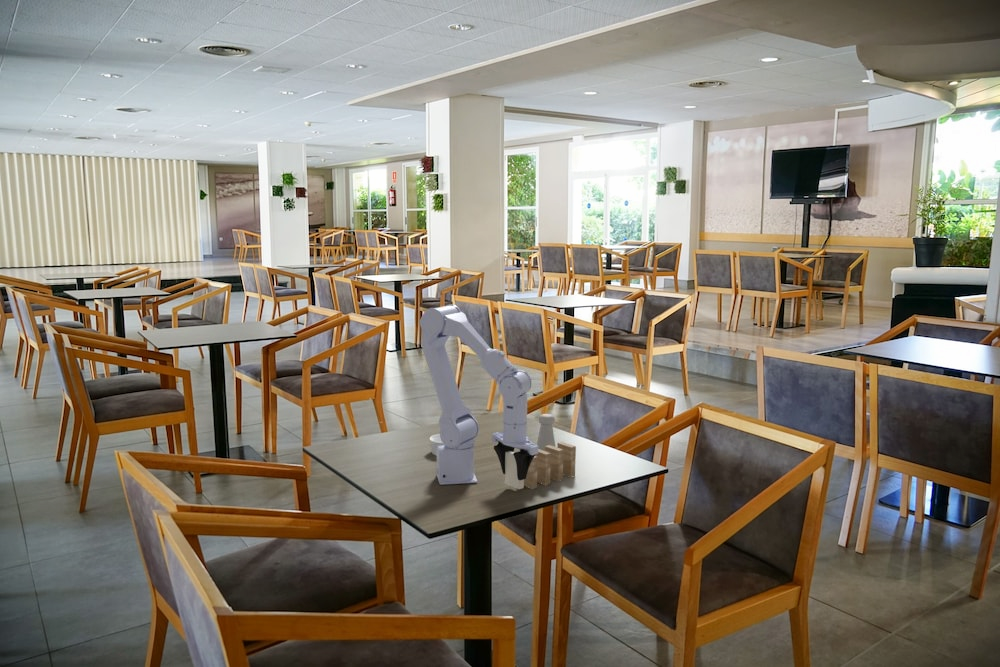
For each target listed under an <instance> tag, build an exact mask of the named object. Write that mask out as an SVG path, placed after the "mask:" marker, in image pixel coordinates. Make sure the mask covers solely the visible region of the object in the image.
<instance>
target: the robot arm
mask: <svg viewBox="0 0 1000 667" xmlns="http://www.w3.org/2000/svg"><path fill="white" fill-rule="evenodd" d="M418 323H419V326H420V329H421V339H420V344H421V348H422V351H423V353H424V354H423V355H424V358H425V362H426V364H427V366H428V370H429V373H430V377H431V379H432V382H433V383H432V384H433V386H434V389H435V392H436V395H437V398H438V401H439V404H440V408H441V414H440V417H439V419H438V425H439V434H440V438H441V441H442V442H443V444H444V445H442V446H437V456H436V470H435V473H436V474H435V475H436V477H437V479H438V480H437V481H438V483H439V485H442V486H443V485H459V484H476V483H478V479H477V477H476V474H475V440H476V439H475V438H476V437H477V436H478V435H479V433H480V424H479V422H478V420H477V419H476V417H474V415H473V413H472V410H471V409H470V408H469V407H468V406H466V405H465V404H464V403H463V402H464V401H463V399H462V396H461V392H460V390H459V387H458V384H457V380H456V377H455V373H454V371H453V367H452V365H451V361H450V359H449V356H448V352H447V350H446V346H445V345H446V344H447V341H448V339H449V337H457V338H458V339H459V340H460V341H462V342H463V344H464V345H466V346H467V347H468V348H469V349H470V350H471V351H472V352H473V353H474V354H475V355H476V356H477V357H478V358H479V359H480V367H481V368H483V369H484V370H485V371H486V373H487V374H488V376H490V377H491V378H492V379H493V380H494V381H495V383H497V384H498V391H499V393H500V395H501V396H502V406H503V407H502V408H503V410H502V411H503V412H502V413H503V414H502V433H501V432H494V433H492V438H491V439H492V442H493V443H495V442H496V443H497V444H495V445H494V446H493V450H494V451H495V453H496V455H497V457H498V460H499V463H500V468H501V472H502V474H503V475H505V452H508V451H512V452H514V451H515V449H517V450H519V451H515V452H514V453H513V455H514V457H515V460H516V465H517V477H518V480H523V479H526V476H527V472H528V469H529V466H530V464H531V461H532V460H533V458H534V456H535V455H536V454H538V446H537V444H535V443H534V442H532V441H531V440H530V437H529V436H527V434H528V433H527V432H528V431H527V430H528V428H527V427H528V392H529V391H531V389H532V385H533V384H532V378H531V377H530V375H529V374H528V372H527V371H525V370H522V369H519V368H518V366H515V365H513V363H511V361H510V360H509V359H508V358H507V357H506V356H505V355H506V353H505V352H504V351H503V350H499V349H498V348H491V347H490V346H489V345H488V343H486V341H485V340H484V338H482V336H481V335H480V334H479V332H477V331H476V329H475V328H474V327H473V325H472V324H471V323H470V322H469V320H468V316H467V315H466V313H464V312H463V311H462V310H461V309H460V307H458V306H457V305H455V304H446V305H445V306H444V305H443V306H438V307H430V308H427V309H425V311H424V312H423V314H422V316H421V318H420V320H419V322H418Z"/></svg>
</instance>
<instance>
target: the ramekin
mask: <svg viewBox="0 0 1000 667" xmlns="http://www.w3.org/2000/svg"><path fill="white" fill-rule="evenodd" d="M429 441H430V442H429V443H430V452H431V454H432V455H433V456H436V457H437V446H442V445H444V444H443V442H442V441H441V438H440V433H438V434H433V435H431V436H430V437H429Z"/></svg>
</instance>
